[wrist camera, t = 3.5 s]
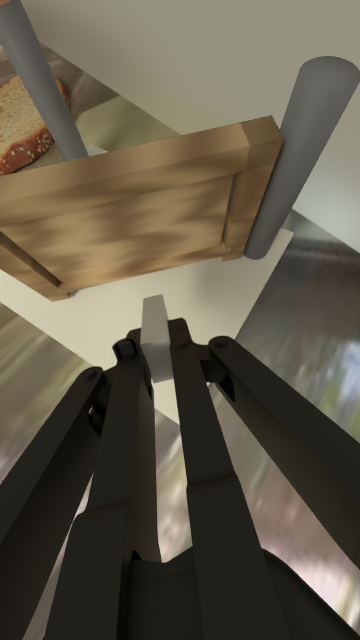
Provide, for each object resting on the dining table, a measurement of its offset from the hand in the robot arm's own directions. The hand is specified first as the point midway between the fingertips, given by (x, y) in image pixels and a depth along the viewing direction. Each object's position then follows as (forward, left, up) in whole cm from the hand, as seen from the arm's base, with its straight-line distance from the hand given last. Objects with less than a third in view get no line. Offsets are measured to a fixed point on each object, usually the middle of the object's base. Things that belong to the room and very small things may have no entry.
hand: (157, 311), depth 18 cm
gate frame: (-9, +5, -7) cm, 12 cm away
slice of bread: (-38, +16, -8) cm, 42 cm away
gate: (-5, +4, -5) cm, 9 cm away
